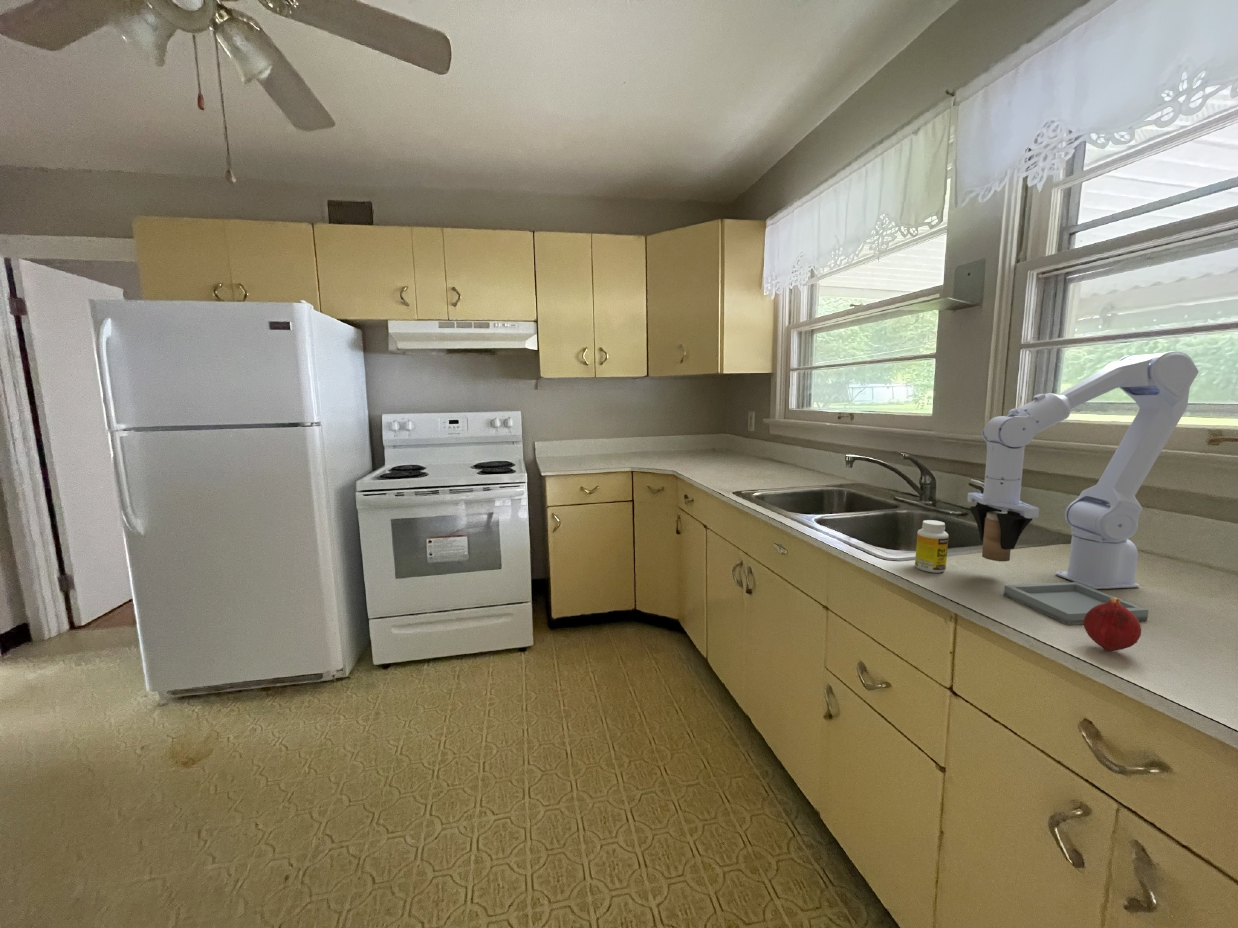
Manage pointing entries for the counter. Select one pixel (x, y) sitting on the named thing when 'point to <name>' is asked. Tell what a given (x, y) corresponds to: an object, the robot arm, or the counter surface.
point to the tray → (1066, 600)
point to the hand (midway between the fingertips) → (996, 544)
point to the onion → (1112, 626)
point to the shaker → (993, 539)
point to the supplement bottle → (932, 547)
